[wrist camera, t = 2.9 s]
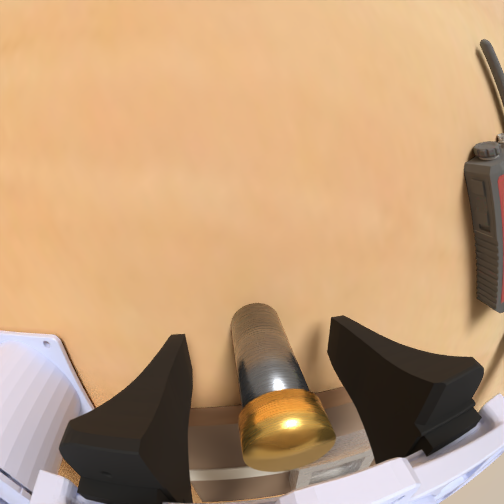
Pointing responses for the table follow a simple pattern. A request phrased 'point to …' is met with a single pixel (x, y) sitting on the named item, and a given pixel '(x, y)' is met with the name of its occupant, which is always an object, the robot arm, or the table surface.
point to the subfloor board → (230, 451)
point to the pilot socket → (335, 461)
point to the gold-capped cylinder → (275, 396)
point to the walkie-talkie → (489, 203)
